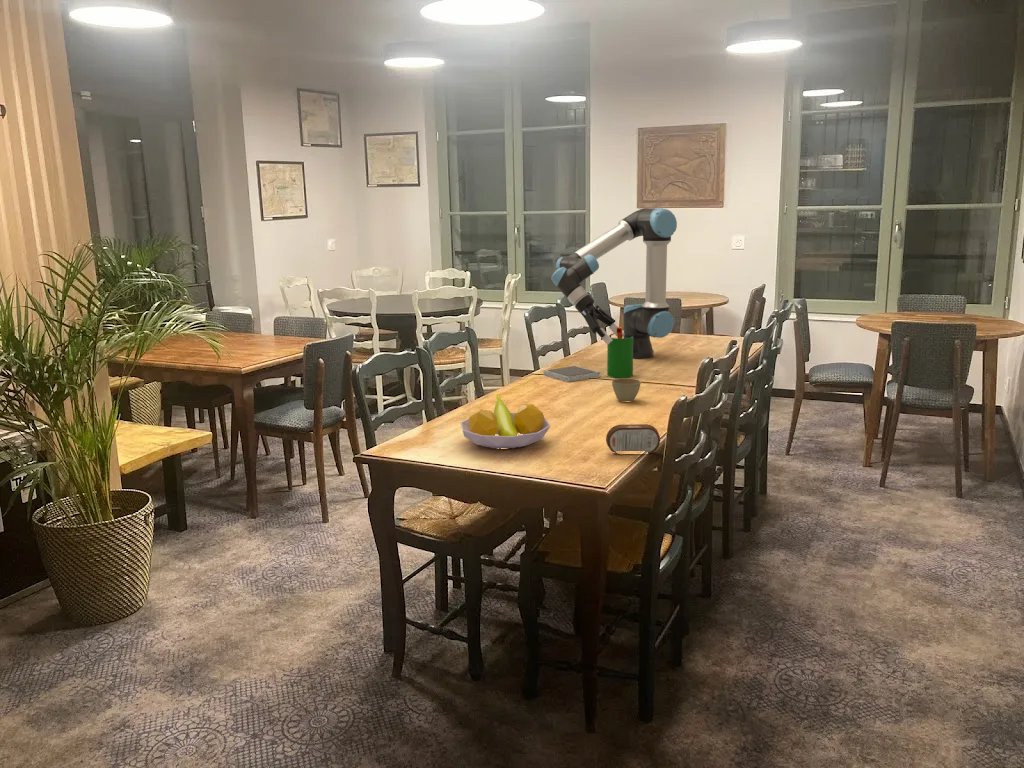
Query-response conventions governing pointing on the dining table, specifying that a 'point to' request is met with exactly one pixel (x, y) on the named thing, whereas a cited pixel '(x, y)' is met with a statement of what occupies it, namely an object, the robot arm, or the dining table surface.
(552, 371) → the grey flat square slab
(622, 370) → the green cylindrical container
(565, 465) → the dining table surface
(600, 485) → the dining table surface
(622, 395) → the flower pot
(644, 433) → the tin
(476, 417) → the fruit bowl
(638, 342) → the robot arm
